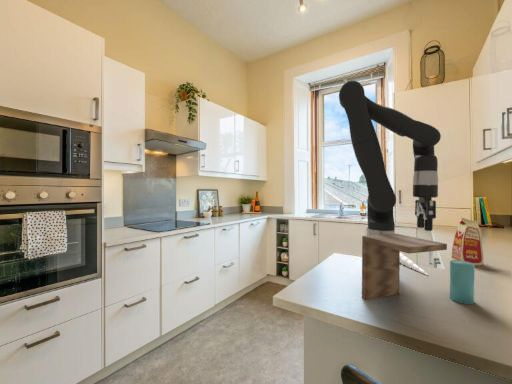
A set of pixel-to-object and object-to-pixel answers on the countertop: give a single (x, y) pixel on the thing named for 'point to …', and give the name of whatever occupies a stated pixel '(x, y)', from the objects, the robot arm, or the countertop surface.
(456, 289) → the teal rounded cylinder
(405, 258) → the unicorn horn
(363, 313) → the countertop surface
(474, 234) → the milk carton
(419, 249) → the shelf
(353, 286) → the countertop surface
